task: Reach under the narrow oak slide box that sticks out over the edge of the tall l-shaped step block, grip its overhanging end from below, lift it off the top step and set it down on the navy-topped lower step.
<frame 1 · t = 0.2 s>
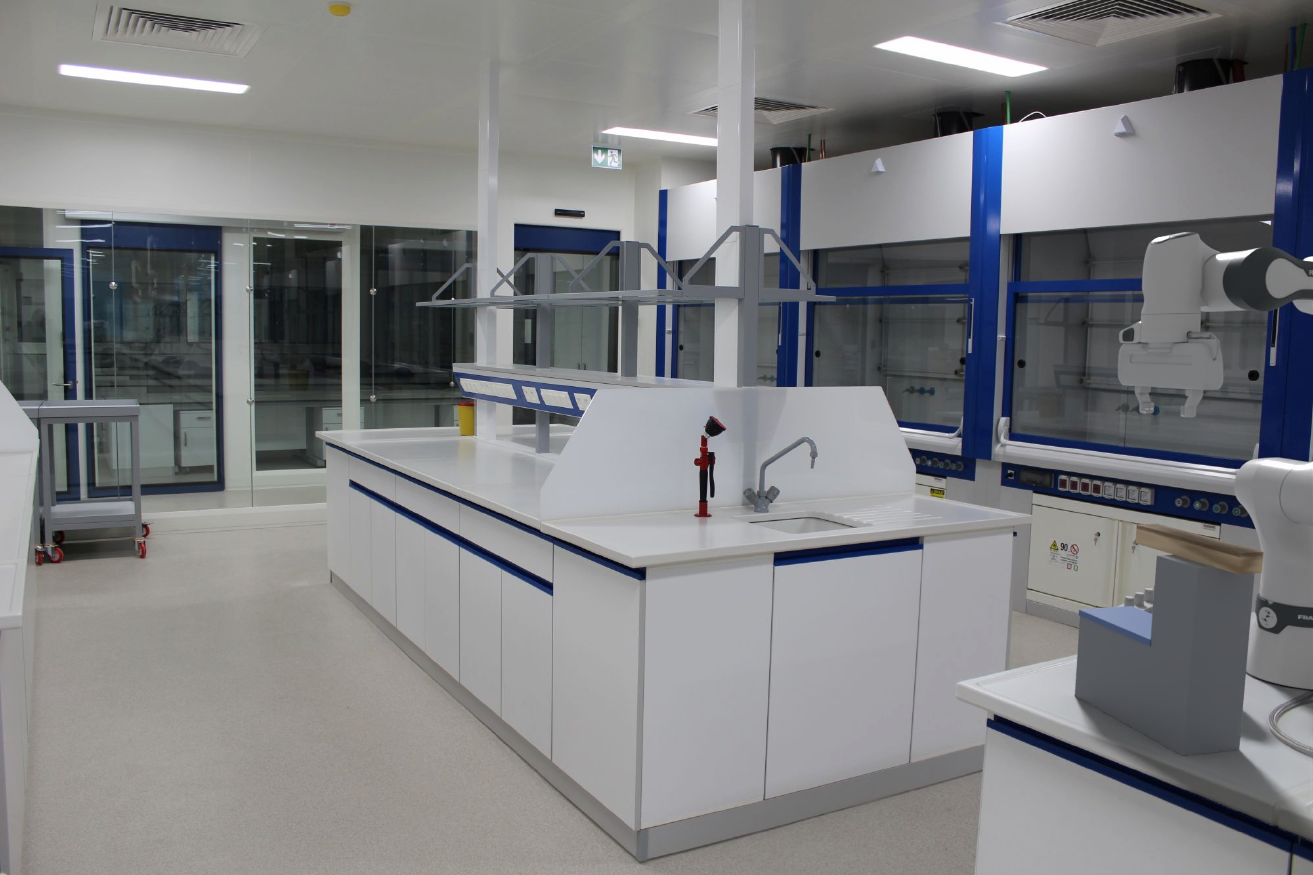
hand: (1166, 415, 165), 48 cm above the countertop, tool pointing down, fingers open, 8 cm apart
slide box: (1194, 557, 148), point 28 cm above the countertop, touching l-shaped step block
test tube rack: (1144, 657, 188), on the countertop
l-shaped step block: (1151, 720, 157), on the countertop
skincare box: (1214, 704, 165), on the countertop
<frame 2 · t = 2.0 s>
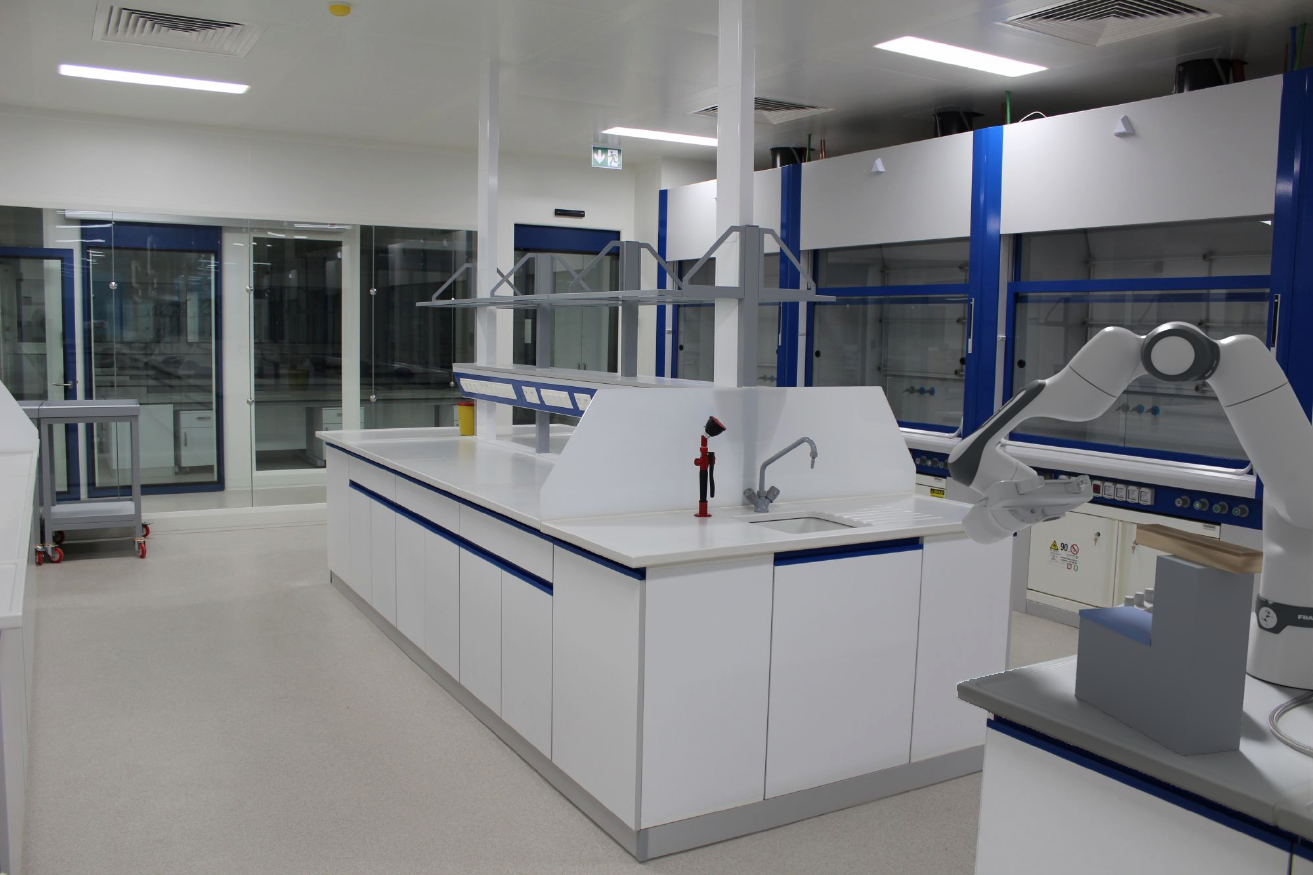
hand: (1063, 479, 177), 35 cm above the countertop, tool pointing upward, fingers open, 8 cm apart
nothing on the countertop moved.
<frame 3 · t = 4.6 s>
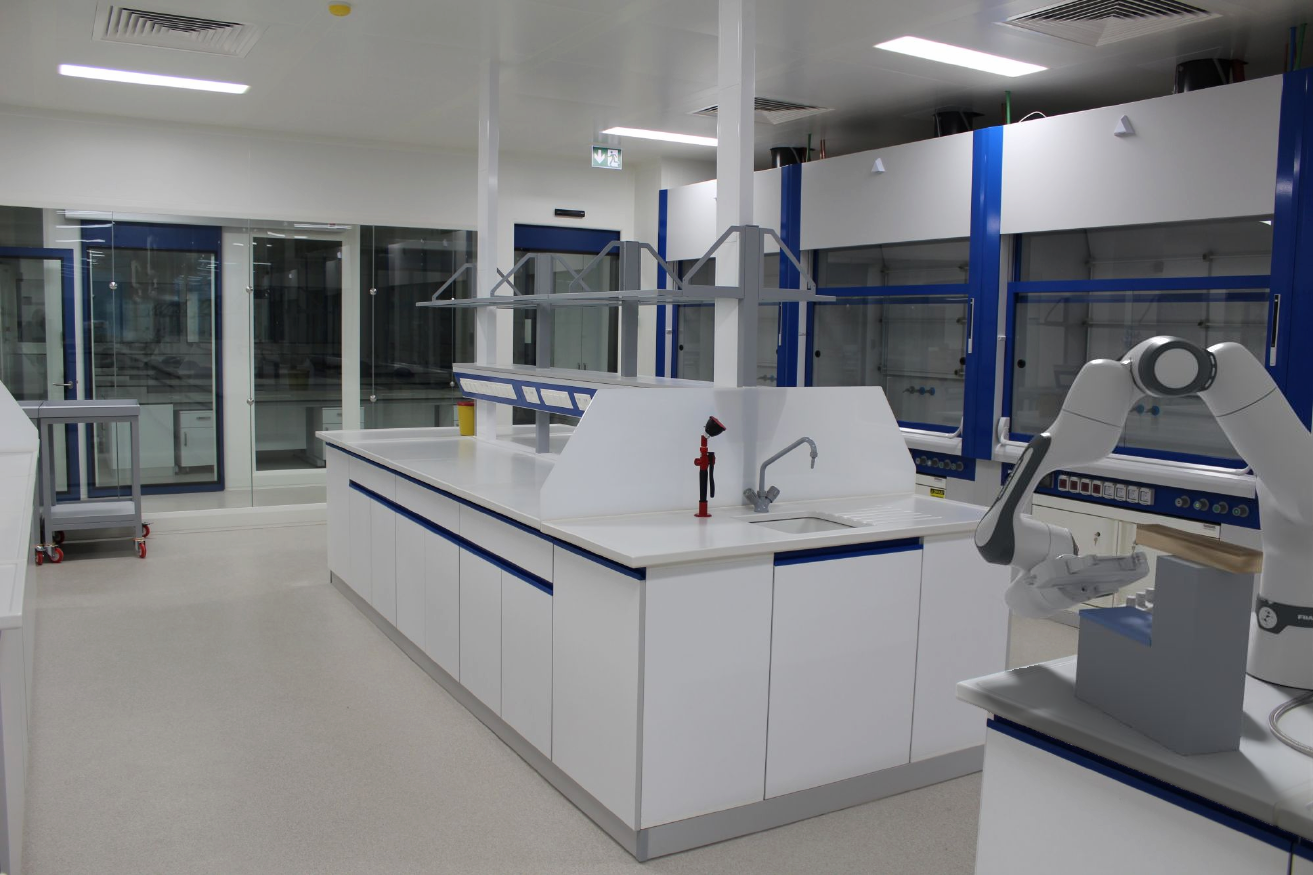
hand: (1118, 557, 163), 24 cm above the countertop, tool pointing upward, fingers open, 8 cm apart
nothing on the countertop moved.
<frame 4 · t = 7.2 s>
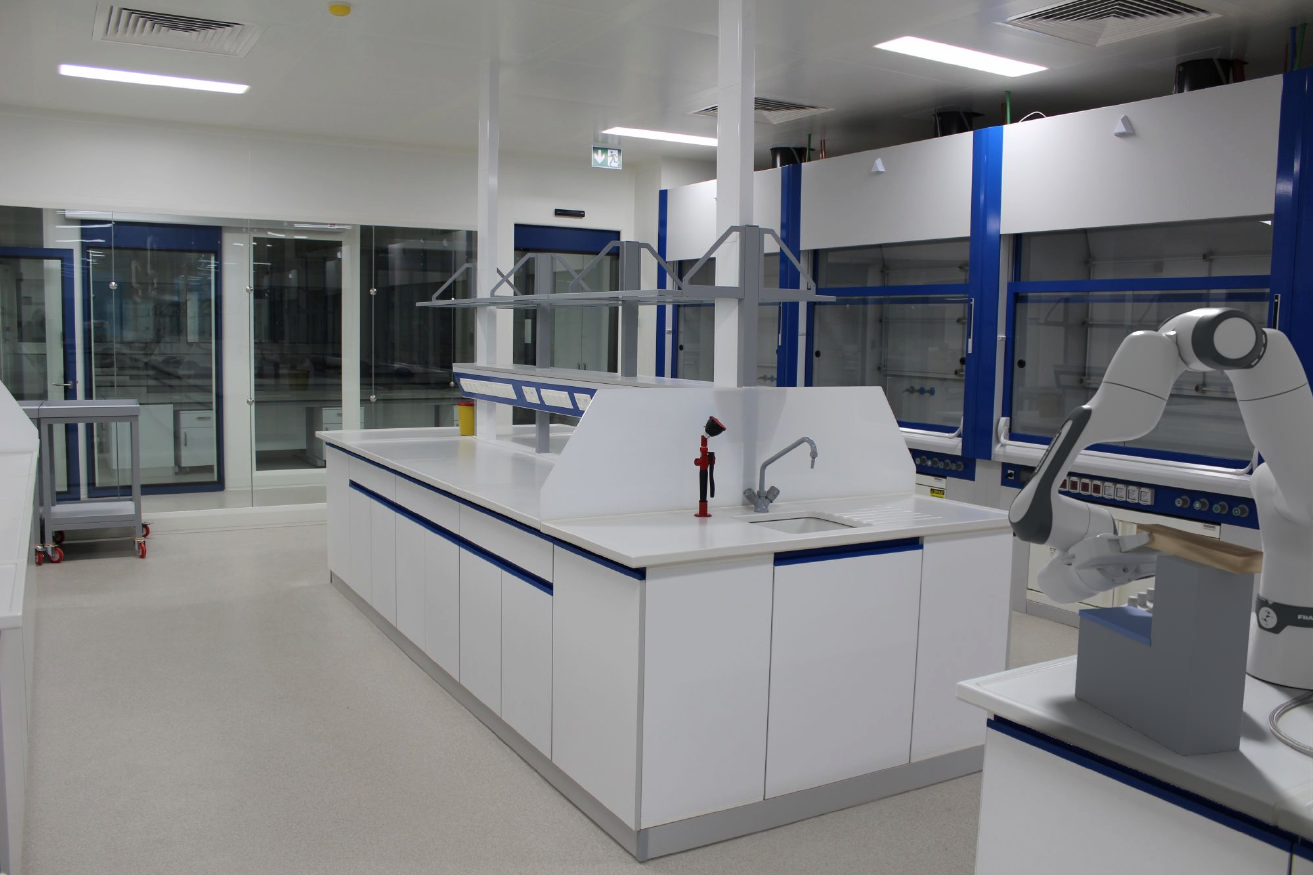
hand: (1164, 535, 154), 30 cm above the countertop, tool pointing upward, fingers closed on slide box, 4 cm apart
slide box: (1194, 557, 148), point 28 cm above the countertop, touching gripper, l-shaped step block
everything else where it was.
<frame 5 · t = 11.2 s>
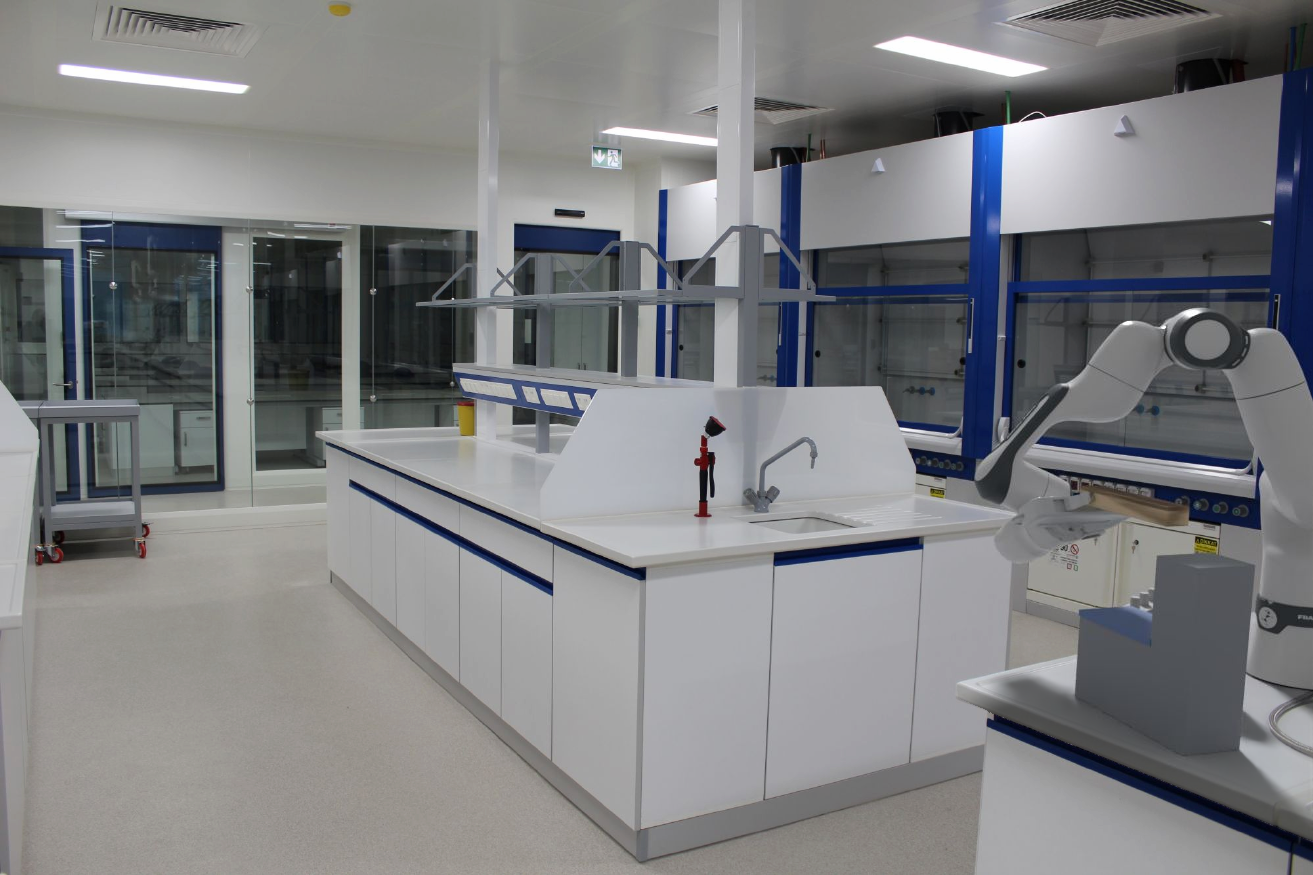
hand: (1105, 495, 166), 34 cm above the countertop, tool pointing upward, fingers closed on slide box, 4 cm apart
slide box: (1130, 513, 160), point 32 cm above the countertop, touching gripper
everything else where it was.
when the fingers open (18 cm above the countertop, at t = 15.5 s): slide box drops 1 cm, resting on l-shaped step block.
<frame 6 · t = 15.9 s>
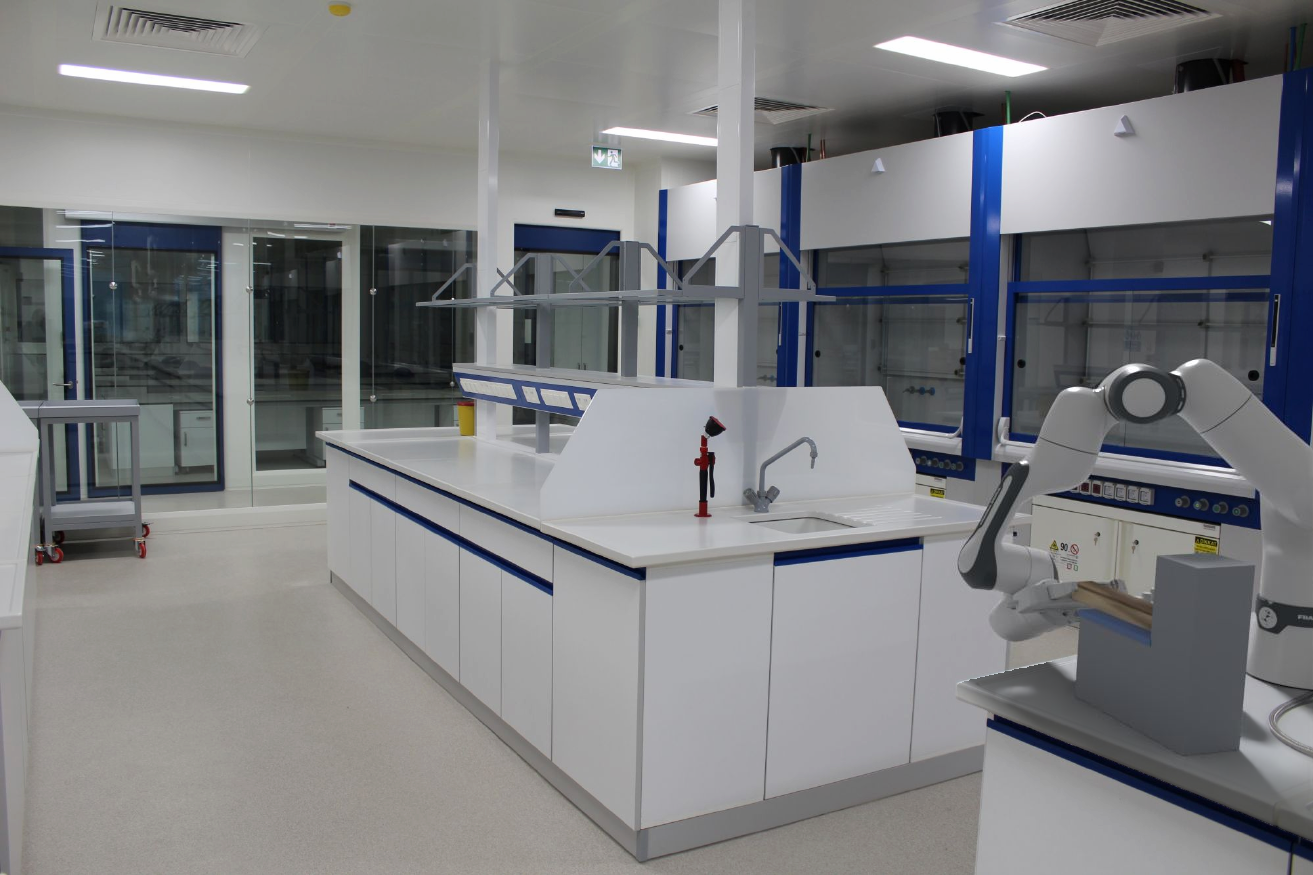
hand: (1098, 584, 168), 18 cm above the countertop, tool pointing upward, fingers open, 8 cm apart
slide box: (1121, 614, 163), point 15 cm above the countertop, touching l-shaped step block
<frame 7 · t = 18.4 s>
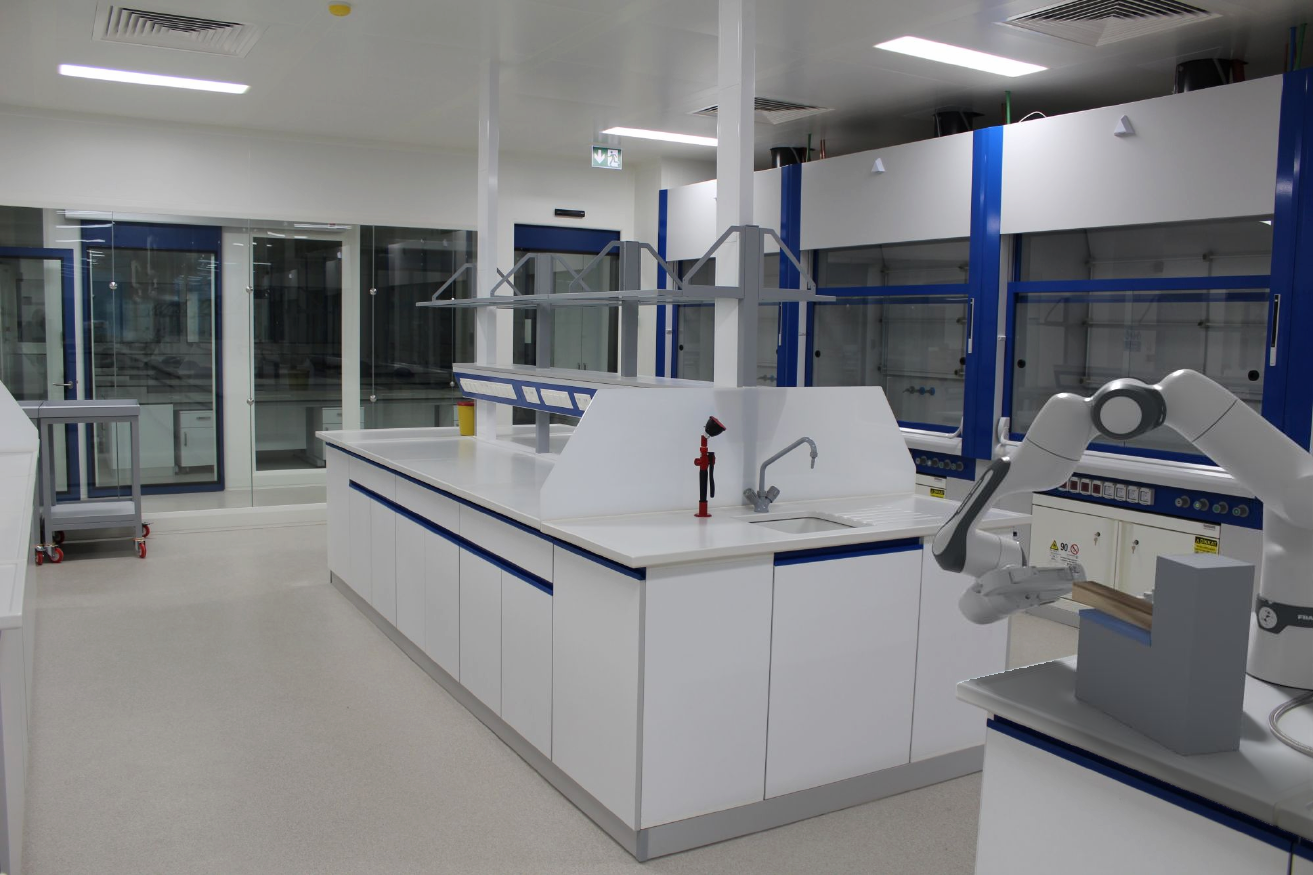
hand: (1056, 568, 179), 18 cm above the countertop, tool pointing upward, fingers open, 8 cm apart
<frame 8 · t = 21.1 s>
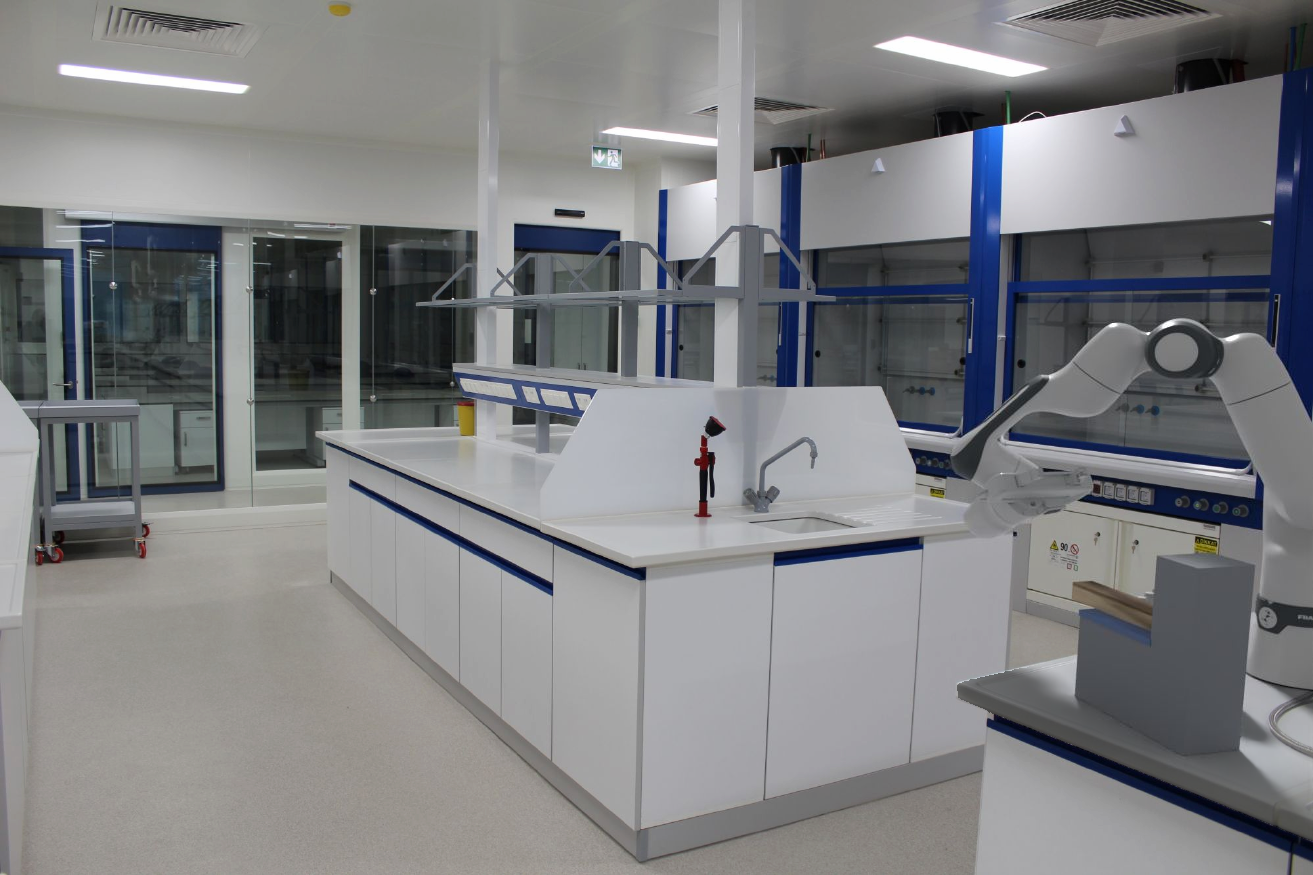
hand: (1062, 471, 177), 36 cm above the countertop, tool pointing upward, fingers open, 8 cm apart
at the end: slide box inside the target area on the l-shaped step block (0.6 cm from its centre), point 15.0 cm above the l-shaped step block's base; slide box tilted 0°; the gripper is holding nothing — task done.
